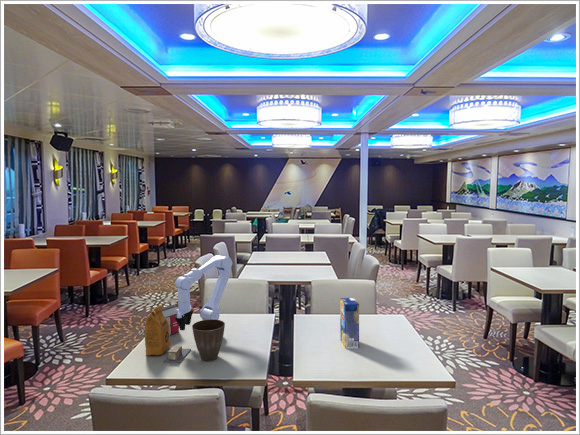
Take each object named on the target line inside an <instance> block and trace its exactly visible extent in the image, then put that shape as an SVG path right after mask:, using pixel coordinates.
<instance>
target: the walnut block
mask: <svg viewBox="0 0 580 435" xmlns="http://www.w3.org/2000/svg"><path fill="white" fill-rule="evenodd" d="M182 346H183V345H173V346H172V347H171V348H170V349H169V350H167V357H168V360H177V359H178V358H179V357H180V356H181V355H182V349H183V347H182Z"/></svg>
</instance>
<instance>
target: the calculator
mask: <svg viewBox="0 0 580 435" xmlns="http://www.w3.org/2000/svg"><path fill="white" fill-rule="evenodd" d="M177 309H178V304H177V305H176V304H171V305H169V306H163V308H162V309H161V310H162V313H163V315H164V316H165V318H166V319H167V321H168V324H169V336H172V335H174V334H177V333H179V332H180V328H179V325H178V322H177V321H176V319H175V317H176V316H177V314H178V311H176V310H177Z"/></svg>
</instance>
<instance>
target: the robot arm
mask: <svg viewBox="0 0 580 435" xmlns="http://www.w3.org/2000/svg"><path fill="white" fill-rule="evenodd" d="M232 266H233V261H232V258H231V257H230V256H223V255H219V254H215V255H214V256H213V257H211V258H210V260H208V261H206V263H204V264H203V265H202V266H200V267H199V268H196V267H195V268H191V270H190V271H188V272H187V273H185V274H183V276H179V277H177V279H176V280H175V282H174V286H175V287H176V289H177V301H178V302H177V303H178V304H177V306H178V309H177V310H176V311H178V314H177V316H176V317H175V319H176V321H177V322H178V325H179V331H185V330H186V326H188V325H189V326H190V325H191V322H192V318H193V317H192V316H193V314H194V312H195V310H194V309H192V304H191V294H190V293H191V292H190V289H191V287H192V285H193V284H194V283H196V282H197V281H199V280H200V279H202V276H203V275H204V274H205V273H206V272H209V271H211V270H212V269H213V268H215V269H216V270H217V271H218V274H219V275H218V278H217V280H216V282H215V285H214V288H213V290H212V293H211V294H210V295H211V296H210V297H209V300H208V302H206V303H204V305H203V307H202V308H201V309H200V311H199V316H200V318H201V321H202V320H208V319H216V320H220V314H221V313H220V312H221V308H220V303H221V300H222V297H223V296H224V292H225V289H226V286H227V284H228V282H229V278H230V276H231V271H232Z"/></svg>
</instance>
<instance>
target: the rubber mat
mask: <svg viewBox="0 0 580 435" xmlns="http://www.w3.org/2000/svg"><path fill="white" fill-rule="evenodd" d="M191 351H192V349H191V348H182V355H181V356H180V357H179V358H178V359H177V360H168V356H167V357H165V359H163V363H173V364H174V363H175V364H181V363H182V361H184V359H185V358H186V357H187V356H188V354H189V353H190V352H191Z"/></svg>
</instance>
